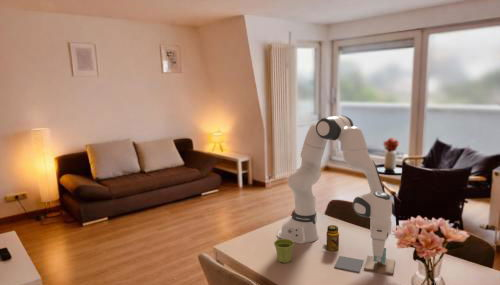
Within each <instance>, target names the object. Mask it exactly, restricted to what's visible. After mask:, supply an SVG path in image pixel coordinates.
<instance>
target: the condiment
mask: <svg viewBox="0 0 500 285" xmlns="http://www.w3.org/2000/svg"><path fill="white" fill-rule="evenodd" d="M326 230H327V231H326V244H322V249H321V252H326V253H332V254H333V253H334V254H339V253H340V251H341V250H340V248H341V246H340V232H339V227H338V226H337V225H334V224H331V225H328V226H327V229H326Z"/></svg>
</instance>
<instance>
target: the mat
mask: <svg viewBox="0 0 500 285" xmlns="http://www.w3.org/2000/svg"><path fill="white" fill-rule="evenodd" d="M363 262H364V259H361V258H360V259H358V258H353V257H347V256H342V255H338V257H337V260H336V262H335V264H334V266H333V268H334V269H338V270H343V271H347V272H352V273H358V274H360V272H361V269H362V265H363Z"/></svg>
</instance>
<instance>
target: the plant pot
mask: <svg viewBox="0 0 500 285" xmlns="http://www.w3.org/2000/svg"><path fill="white" fill-rule="evenodd" d="M294 244H295V242H293V241H292V240H289V239H281V238H278V239H277V240H275V241H274V242H273V245H274V247H275V250H276V256H277V261H278V262H279V263H283V264H284V263H290V262H291V260H292V252H293V248H294Z"/></svg>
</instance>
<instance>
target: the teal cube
mask: <svg viewBox="0 0 500 285" xmlns="http://www.w3.org/2000/svg"><path fill="white" fill-rule="evenodd" d="M373 256H374V255H373ZM386 259H387V247H384V251H383V256H382V257H381V263H385V260H386ZM374 261H375V262H378V261H377V257H376V256H374Z"/></svg>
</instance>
